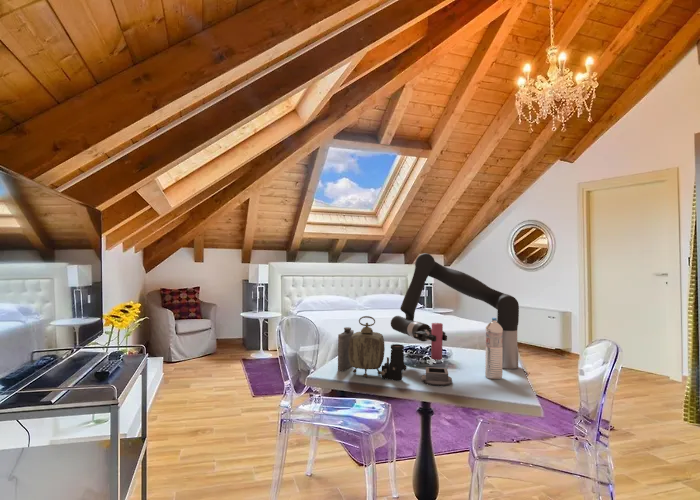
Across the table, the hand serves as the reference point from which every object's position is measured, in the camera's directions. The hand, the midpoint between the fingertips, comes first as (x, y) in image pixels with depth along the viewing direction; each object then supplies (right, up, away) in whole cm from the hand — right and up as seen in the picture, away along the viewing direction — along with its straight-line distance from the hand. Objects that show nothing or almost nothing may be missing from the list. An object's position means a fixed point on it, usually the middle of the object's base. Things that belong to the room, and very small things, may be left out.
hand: (440, 338), depth 167 cm
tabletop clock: (-29, -18, +9) cm, 36 cm away
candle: (-1, -9, +2) cm, 9 cm away
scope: (-18, -18, +5) cm, 26 cm away
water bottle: (+24, -19, +9) cm, 32 cm away
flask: (-38, -18, +22) cm, 47 cm away
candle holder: (-1, -18, +2) cm, 18 cm away
